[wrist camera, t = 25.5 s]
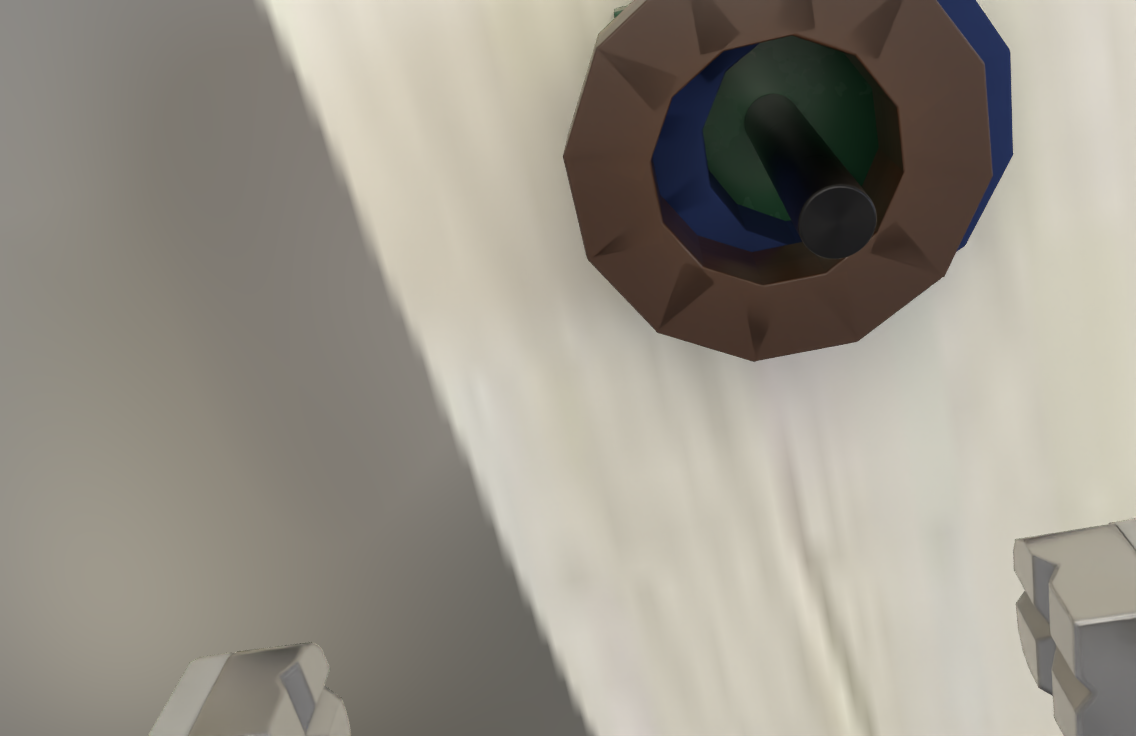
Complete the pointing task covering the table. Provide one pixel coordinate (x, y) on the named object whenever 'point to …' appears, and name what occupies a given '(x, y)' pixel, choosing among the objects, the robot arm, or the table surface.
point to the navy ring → (752, 230)
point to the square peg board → (797, 141)
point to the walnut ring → (792, 272)
